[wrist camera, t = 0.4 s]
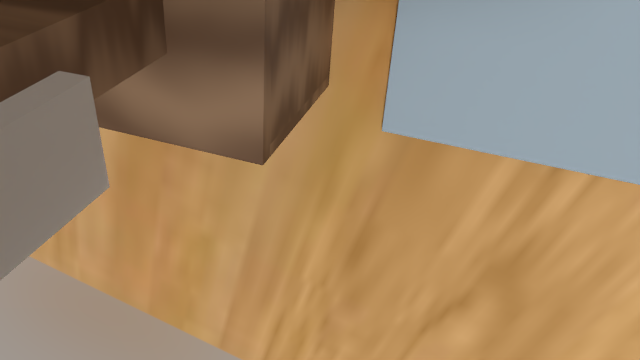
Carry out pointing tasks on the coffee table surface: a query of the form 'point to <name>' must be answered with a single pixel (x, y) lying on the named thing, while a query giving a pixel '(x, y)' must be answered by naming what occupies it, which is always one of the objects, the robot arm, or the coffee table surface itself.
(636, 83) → the mat
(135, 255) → the coffee table surface
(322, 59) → the cover
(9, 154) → the robot arm
